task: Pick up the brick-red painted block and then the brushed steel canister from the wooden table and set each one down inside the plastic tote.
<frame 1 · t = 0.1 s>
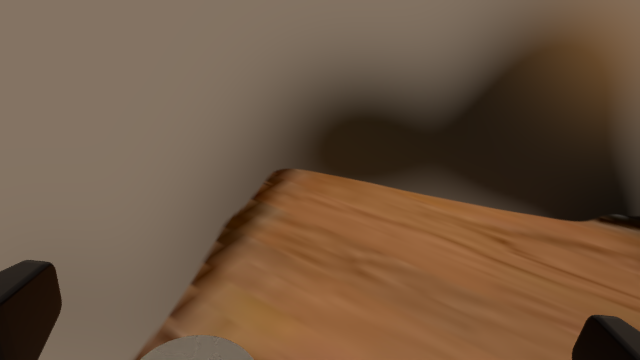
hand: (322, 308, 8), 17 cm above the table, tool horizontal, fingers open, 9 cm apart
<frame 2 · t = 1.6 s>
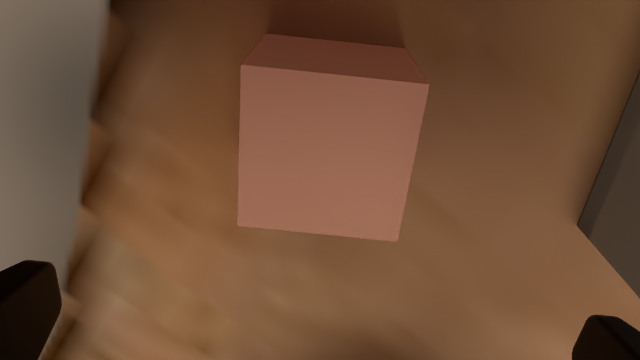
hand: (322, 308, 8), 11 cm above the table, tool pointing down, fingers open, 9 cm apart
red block: (328, 107, 18), on the table
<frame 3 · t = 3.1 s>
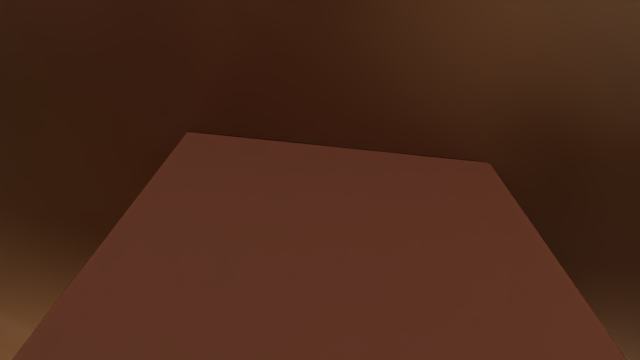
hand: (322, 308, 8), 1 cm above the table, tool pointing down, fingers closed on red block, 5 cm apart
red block: (323, 268, 9), on the table, touching gripper
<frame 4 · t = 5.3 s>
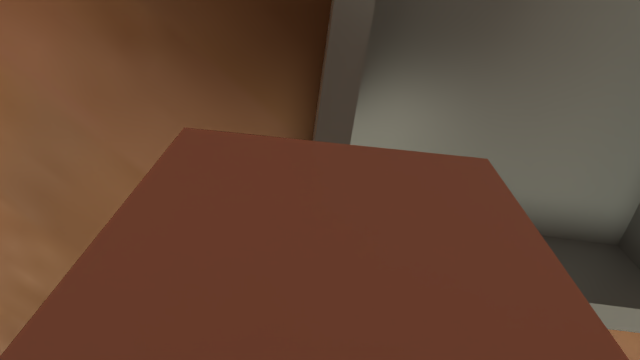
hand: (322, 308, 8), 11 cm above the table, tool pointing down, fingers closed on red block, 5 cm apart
tote: (532, 18, 16), on the table
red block: (321, 265, 9), point 10 cm above the table, touching gripper
when the fingers open (4 cm above the table, at t = 7.4 s): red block drops 2 cm, resting on tote.
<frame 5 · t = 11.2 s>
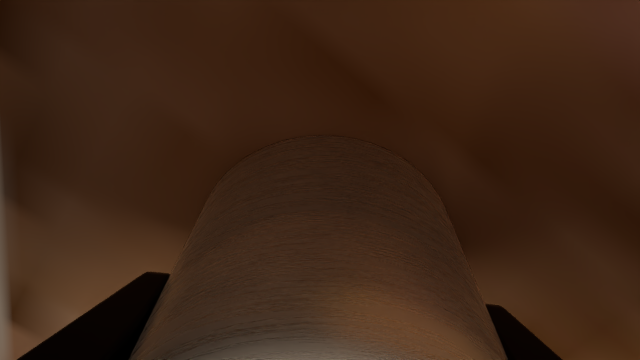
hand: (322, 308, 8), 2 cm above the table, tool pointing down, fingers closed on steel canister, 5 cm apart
steel canister: (324, 252, 9), on the table, touching gripper
when the fingers open (4 cm above the table, at t = 15.6 s): steel canister drops 2 cm, resting on tote.
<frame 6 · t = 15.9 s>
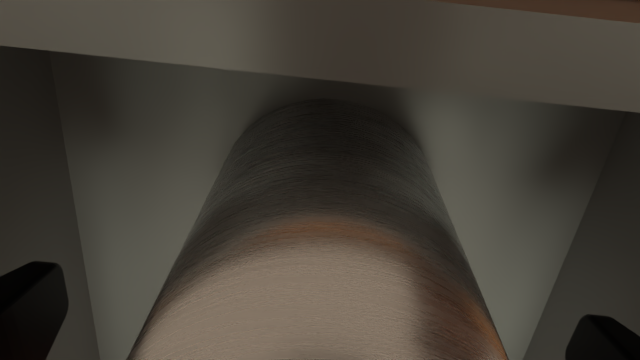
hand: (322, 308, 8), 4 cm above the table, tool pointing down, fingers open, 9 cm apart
steel canister: (325, 201, 11), point 1 cm above the table, touching tote
tote: (312, 303, 14), on the table
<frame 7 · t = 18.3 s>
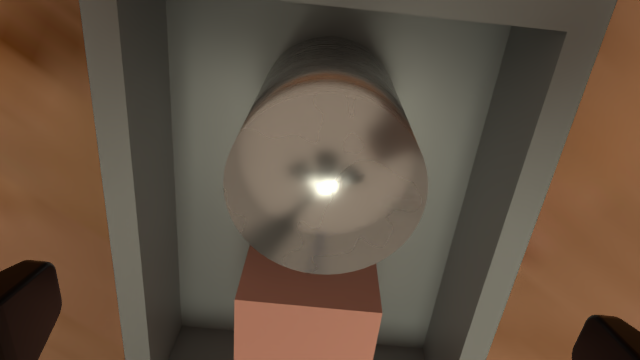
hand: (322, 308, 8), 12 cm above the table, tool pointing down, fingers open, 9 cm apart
steel canister: (328, 104, 18), point 1 cm above the table, touching tote
tote: (319, 185, 20), on the table
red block: (309, 272, 21), point 1 cm above the table, touching tote
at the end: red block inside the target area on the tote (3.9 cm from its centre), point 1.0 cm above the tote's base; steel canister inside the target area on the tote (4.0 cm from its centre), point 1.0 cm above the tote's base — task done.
